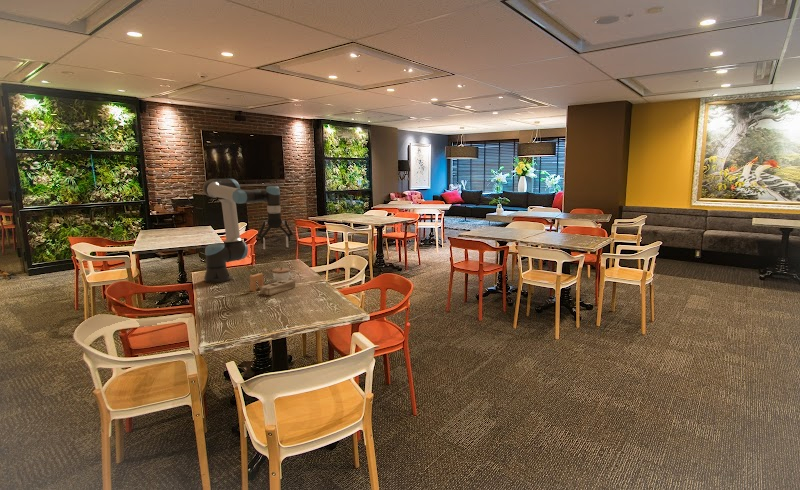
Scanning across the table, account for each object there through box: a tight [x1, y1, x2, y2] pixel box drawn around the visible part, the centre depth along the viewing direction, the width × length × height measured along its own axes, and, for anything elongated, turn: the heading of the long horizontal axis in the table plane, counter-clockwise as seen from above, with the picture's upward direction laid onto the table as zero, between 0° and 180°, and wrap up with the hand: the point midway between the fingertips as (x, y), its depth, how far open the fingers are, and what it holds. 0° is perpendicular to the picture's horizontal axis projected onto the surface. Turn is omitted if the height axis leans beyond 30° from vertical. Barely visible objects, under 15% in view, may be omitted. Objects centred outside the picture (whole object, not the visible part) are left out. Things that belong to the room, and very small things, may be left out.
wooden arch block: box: [249, 272, 265, 292], centre depth 252 cm, size 3×8×9 cm, turn 150°
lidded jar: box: [272, 266, 291, 282], centre depth 270 cm, size 11×11×9 cm
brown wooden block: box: [259, 279, 296, 296], centre depth 251 cm, size 8×20×4 cm, turn 150°
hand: (276, 248), depth 255 cm, fingers open, 13 cm apart
